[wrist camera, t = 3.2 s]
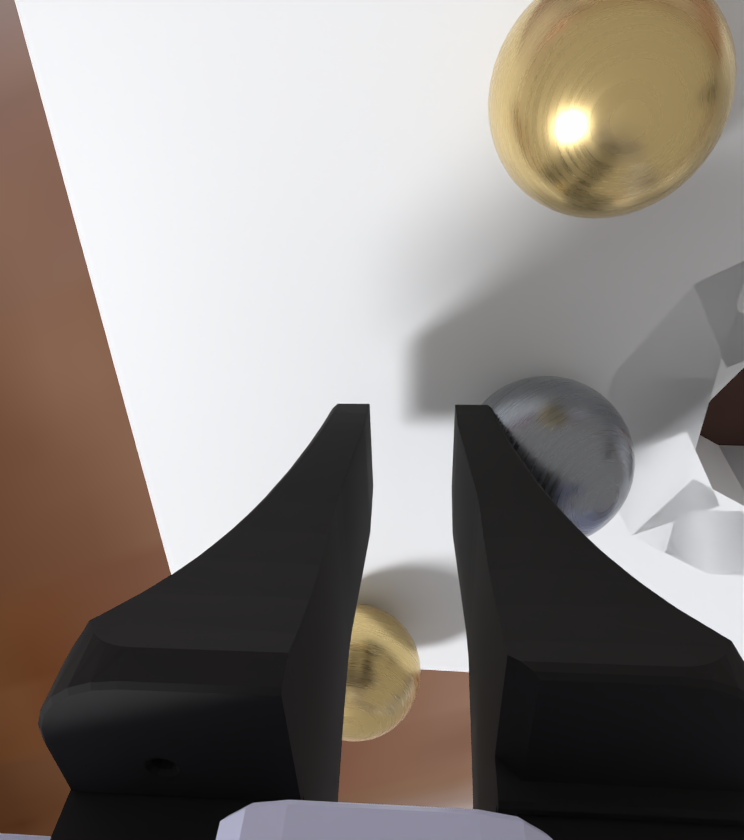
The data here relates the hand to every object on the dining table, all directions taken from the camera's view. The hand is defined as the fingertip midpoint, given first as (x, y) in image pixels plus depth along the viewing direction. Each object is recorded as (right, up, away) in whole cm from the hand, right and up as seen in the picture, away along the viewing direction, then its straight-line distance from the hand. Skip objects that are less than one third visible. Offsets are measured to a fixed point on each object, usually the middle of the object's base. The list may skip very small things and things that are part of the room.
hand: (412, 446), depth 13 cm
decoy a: (-1, -6, +4) cm, 7 cm away
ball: (+2, 0, 0) cm, 3 cm away
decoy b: (+2, +5, -4) cm, 7 cm away
